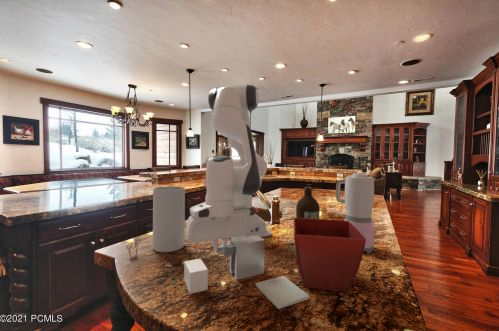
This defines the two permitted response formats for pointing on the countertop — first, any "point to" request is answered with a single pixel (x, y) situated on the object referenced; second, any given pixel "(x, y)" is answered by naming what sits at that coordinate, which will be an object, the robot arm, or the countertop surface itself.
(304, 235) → the plant pot
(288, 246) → the tactical tomahawk
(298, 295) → the sage mat
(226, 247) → the bar
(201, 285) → the off-white cardboard box
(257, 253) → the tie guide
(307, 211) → the olive oil
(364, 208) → the blender
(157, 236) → the cylinder vase
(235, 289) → the countertop surface
